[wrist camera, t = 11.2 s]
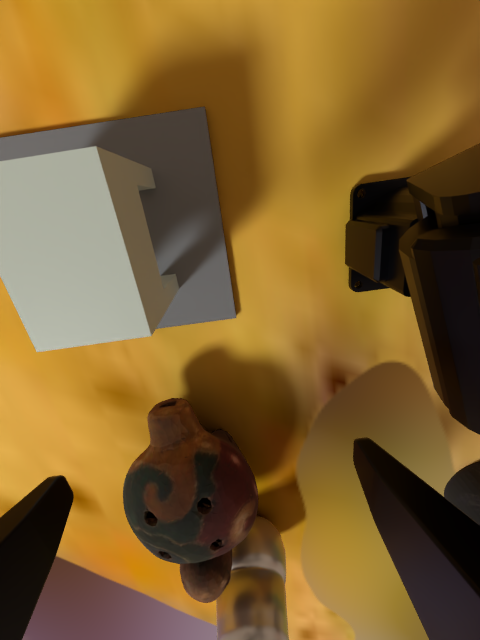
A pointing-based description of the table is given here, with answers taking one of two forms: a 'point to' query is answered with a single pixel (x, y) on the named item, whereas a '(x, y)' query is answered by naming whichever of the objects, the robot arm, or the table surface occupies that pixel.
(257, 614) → the plastic bottle
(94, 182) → the notched white block
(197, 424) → the painted clay ocarina
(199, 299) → the mat
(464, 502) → the travel mug
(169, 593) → the table surface
